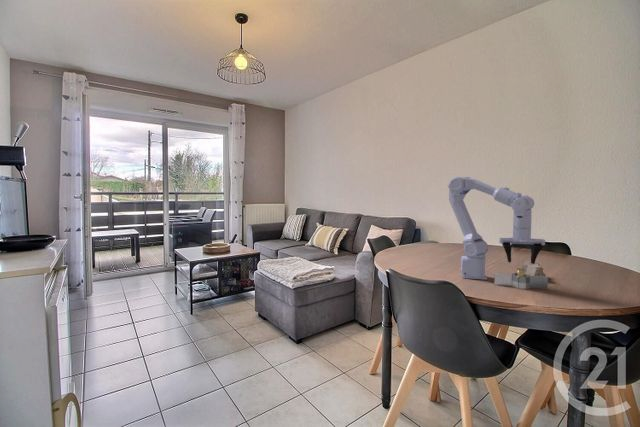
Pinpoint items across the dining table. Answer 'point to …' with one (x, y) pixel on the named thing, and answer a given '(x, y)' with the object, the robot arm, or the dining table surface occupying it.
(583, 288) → the dining table surface
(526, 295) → the dining table surface
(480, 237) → the robot arm
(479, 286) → the dining table surface
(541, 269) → the mineral specimen
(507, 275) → the hinge
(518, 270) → the hinge pin
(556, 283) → the dining table surface
